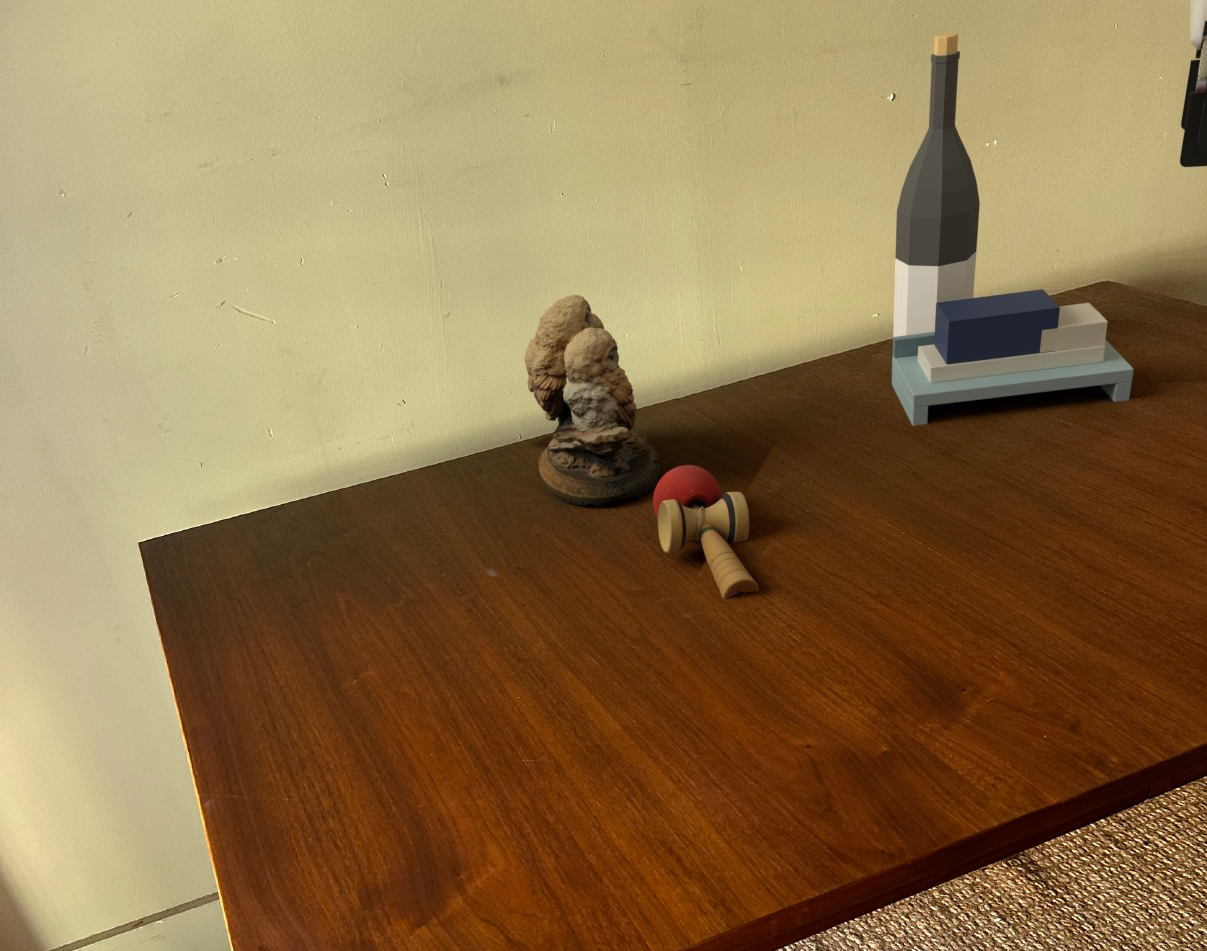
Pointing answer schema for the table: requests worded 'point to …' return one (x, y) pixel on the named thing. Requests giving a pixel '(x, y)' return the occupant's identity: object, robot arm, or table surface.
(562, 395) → the owl figurine
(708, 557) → the kendama
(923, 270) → the wine bottle
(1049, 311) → the navy block on base
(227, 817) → the table surface
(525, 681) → the table surface
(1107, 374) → the shelf
